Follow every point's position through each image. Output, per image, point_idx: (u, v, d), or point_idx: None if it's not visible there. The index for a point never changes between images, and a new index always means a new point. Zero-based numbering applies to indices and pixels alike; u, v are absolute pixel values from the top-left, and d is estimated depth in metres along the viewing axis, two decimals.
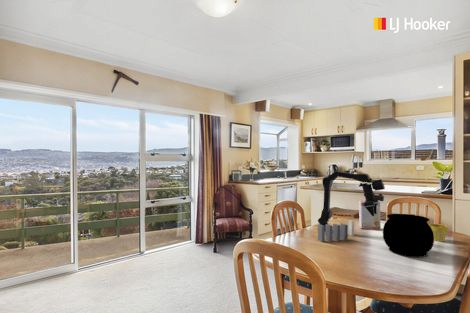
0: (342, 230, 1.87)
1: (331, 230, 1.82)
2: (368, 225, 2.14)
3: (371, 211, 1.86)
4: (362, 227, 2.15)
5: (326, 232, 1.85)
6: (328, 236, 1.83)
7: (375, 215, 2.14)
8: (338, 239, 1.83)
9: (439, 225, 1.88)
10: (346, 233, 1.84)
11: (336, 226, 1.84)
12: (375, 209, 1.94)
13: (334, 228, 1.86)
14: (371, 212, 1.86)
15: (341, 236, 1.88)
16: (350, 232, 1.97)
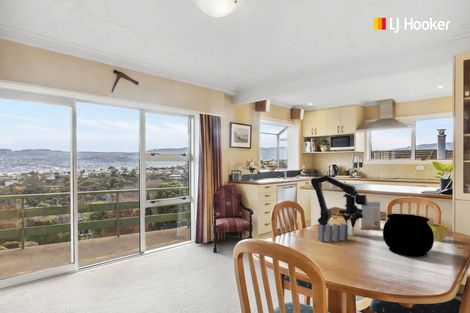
0: (342, 230, 1.87)
1: (331, 230, 1.82)
2: (368, 225, 2.14)
3: (353, 222, 1.95)
4: (362, 227, 2.15)
5: (326, 232, 1.85)
6: (328, 236, 1.83)
7: (375, 215, 2.14)
8: (338, 239, 1.83)
9: (439, 225, 1.88)
10: (346, 233, 1.84)
11: (336, 226, 1.84)
12: None
13: (334, 228, 1.86)
14: (353, 223, 1.95)
15: (341, 236, 1.88)
16: (350, 232, 1.97)
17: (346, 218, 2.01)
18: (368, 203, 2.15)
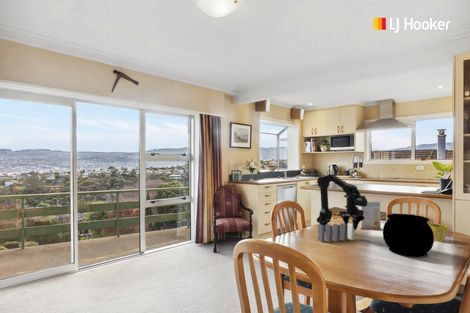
0: (342, 230, 1.87)
1: (331, 230, 1.82)
2: (368, 225, 2.14)
3: (356, 225, 1.83)
4: (362, 227, 2.15)
5: (326, 232, 1.85)
6: (328, 236, 1.83)
7: (375, 215, 2.14)
8: (338, 239, 1.83)
9: (439, 225, 1.88)
10: (346, 233, 1.84)
11: (336, 226, 1.84)
12: (348, 222, 1.93)
13: (334, 228, 1.86)
14: (355, 226, 1.83)
15: (341, 236, 1.88)
16: (351, 236, 1.87)
17: (345, 219, 1.92)
18: (368, 203, 2.15)
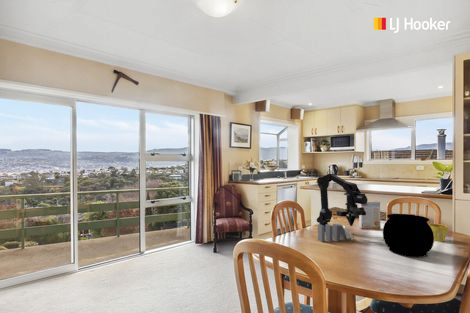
0: None
1: (331, 230, 1.82)
2: (368, 225, 2.14)
3: (349, 221, 1.88)
4: (362, 227, 2.15)
5: (326, 232, 1.85)
6: (328, 236, 1.83)
7: (375, 215, 2.14)
8: (338, 239, 1.83)
9: (439, 225, 1.88)
10: (343, 233, 1.84)
11: (336, 226, 1.84)
12: None
13: (334, 228, 1.86)
14: (349, 222, 1.88)
15: (340, 236, 1.88)
16: (349, 237, 1.86)
17: None
18: (368, 203, 2.15)
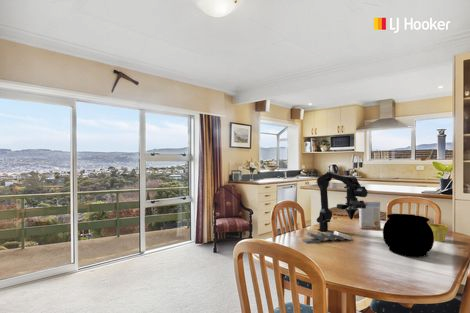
0: None
1: (314, 235, 1.80)
2: (368, 225, 2.14)
3: (349, 214, 1.88)
4: (362, 227, 2.15)
5: None
6: None
7: (375, 215, 2.14)
8: (333, 239, 1.82)
9: (439, 225, 1.88)
10: (337, 237, 1.83)
11: (321, 236, 1.82)
12: None
13: None
14: (349, 215, 1.88)
15: None
16: (347, 238, 1.86)
17: None
18: (368, 203, 2.15)
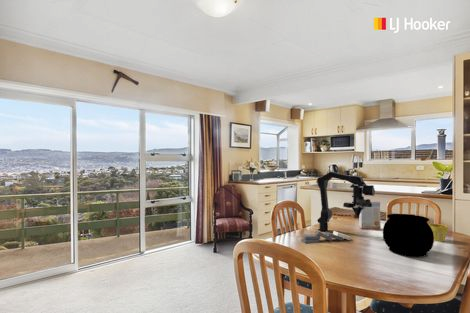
0: None
1: (309, 237, 1.80)
2: (368, 225, 2.14)
3: (355, 212, 1.94)
4: (362, 227, 2.15)
5: None
6: None
7: (375, 215, 2.14)
8: (330, 239, 1.82)
9: (439, 225, 1.88)
10: (336, 237, 1.83)
11: (318, 234, 1.83)
12: (358, 213, 1.94)
13: None
14: (355, 213, 1.94)
15: None
16: (346, 238, 1.86)
17: None
18: None
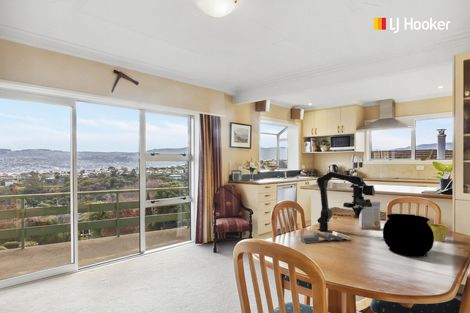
0: None
1: (308, 238, 1.79)
2: (368, 225, 2.14)
3: (355, 212, 1.94)
4: (362, 227, 2.15)
5: None
6: None
7: (375, 215, 2.14)
8: (329, 239, 1.82)
9: (439, 225, 1.88)
10: (336, 237, 1.83)
11: (316, 235, 1.82)
12: (358, 213, 1.94)
13: None
14: (355, 213, 1.94)
15: None
16: (345, 238, 1.86)
17: None
18: None
